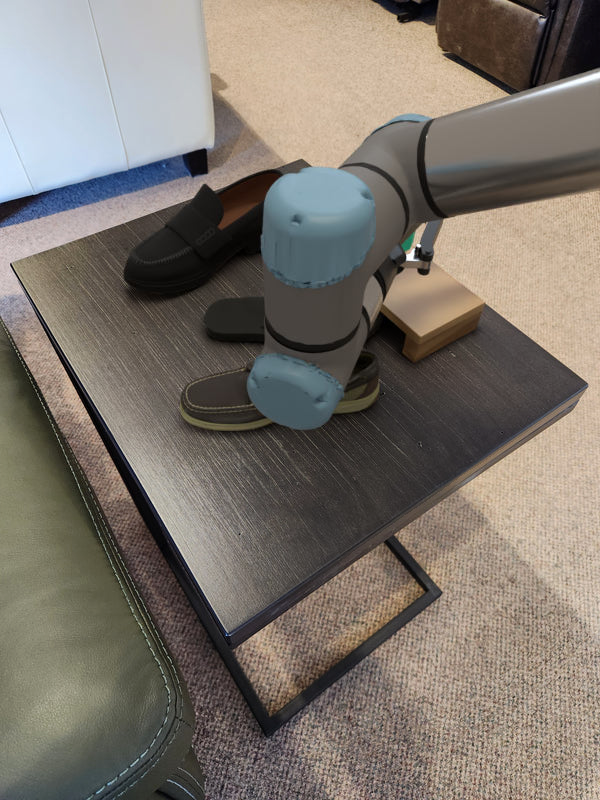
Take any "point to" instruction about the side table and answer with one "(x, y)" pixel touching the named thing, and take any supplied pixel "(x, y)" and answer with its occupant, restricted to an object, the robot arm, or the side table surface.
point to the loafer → (202, 236)
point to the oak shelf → (430, 309)
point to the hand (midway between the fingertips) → (408, 168)
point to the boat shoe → (234, 411)
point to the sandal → (245, 319)
